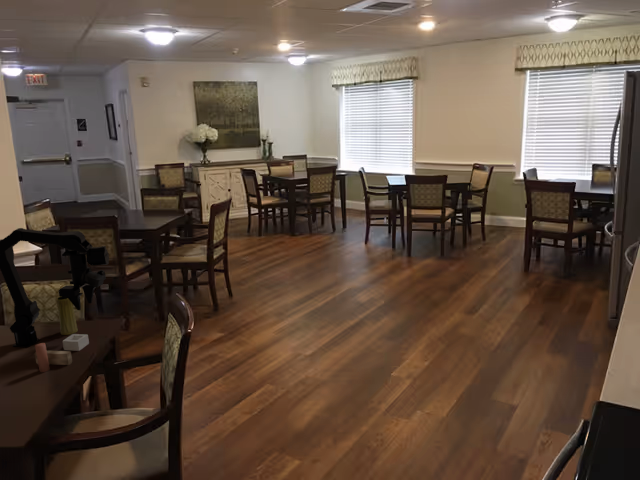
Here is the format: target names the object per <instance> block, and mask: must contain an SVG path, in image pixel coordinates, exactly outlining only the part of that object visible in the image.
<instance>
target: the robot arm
mask: <svg viewBox="0 0 640 480" xmlns="http://www.w3.org/2000/svg"><path fill="white" fill-rule="evenodd" d="M20 242H26V243H28V242H29V243H37V244H38V243H39V244H48V245H55V246H58V247H60V248H62V249H65V251H64V252H63V253H62V254H61V257H68V261H69V262H68V263H69V268H70V269H68V271H67V272H68V273H67V274H70V275H71V276H70V277H71V280H70V281H69V284H70V285H67V284H66V285H65V286H62V287H61V288H59V289H58V297H60V296H62V297H67V298H68V299H69V300H70V301H71V302H72V304H73V307H74V309H76V310H77V311H81V308H82V305H81V304H82V303H81V296H82V295H83V294H84V296H85V299H86V301H87V303H88V304H92V303H93V297H94V293H95V290H96V288H99V287H100V286H102V285H104V280H106V279H107V277H106V271H105V270H103V269H100V270H98V271H95V272H93V271H92V268H91V267H89V265H90V266H107V265H109V264H110V254H109V251H108V249H107V247H106V245H103V246H94V247H93V245H92V243H90V242H89V240H88V239H86V237H85V234H84V233H83V232H82V231H79V230H75V231H72V230H71V231H64V232H54V231H45V230H37V229H27V228H23V227H20V228H16V229H14V230H13V231H12V232H11V233H9V234H8V235H7V236H6V237H4V238H1V239H0V272H1V275H2V277H3V279H4V282H5V284H6V287H7V290H8V293H9V294H10V296H11V299H12V302H13V304H14V307H13V308H14V309H13V314H14V319H15V321H14V322H13V323H12V324H11V326H10V327H9V330H10V332H11V333H12V334H13V336H14V337H13V338H14V341H15V343H13V344H12V347H15V348H29V347H31V346H33V345H34V344H35V343H37V342H39V341H40V338H38V337H37V336H38V335H37V331H36V329H35V326H33V324H35V322H36V320H37V319H38V318H39V316H40V310H41V309H40V308H39V306H38V303H37V300H33V301H32V300H31V299H30V298H29V297H28V295H27V292H26V290H25V288H24V285H23V282H22V281H21V277H20V275H19V271H18V269H17V268H16V264H15V263H14V262H15V251H14V246H16V245H17V244H18V243H20ZM81 289H82V290H83V292H81Z"/></svg>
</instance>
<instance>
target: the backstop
mask: <svg viewBox="0 0 640 480" xmlns="http://www.w3.org/2000/svg"><path fill="white" fill-rule="evenodd" d="M47 356H48V362H49V365H58V366H70V365H72V363H73V357H72V350H47ZM34 357H35V363H36V364H37V365H38V360H37V354H36V351H35V352H34Z"/></svg>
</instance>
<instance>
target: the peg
mask: <svg viewBox="0 0 640 480" xmlns="http://www.w3.org/2000/svg"><path fill="white" fill-rule="evenodd" d="M34 349H35V352H36V354H37V360H38V364H37V366H38V371H39V373H46V372H49V371H50V369H51V368H50V364H49V362H48V356H47V351H48V350H47V346H46V343H45V342H41V343H36V344H35V345H34Z"/></svg>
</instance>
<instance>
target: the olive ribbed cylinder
mask: <svg viewBox="0 0 640 480" xmlns="http://www.w3.org/2000/svg"><path fill="white" fill-rule="evenodd" d="M55 300H56V304H57V311H58V312H57V313H58V318H59V328H60V334H61V336H71V335H72V334H77V332H78V331H79V330H78V325H77V321H76V315H75V310H74V309H75V308H74V305H73V304H72V302H71V301H70V300H69V299H68V298H67V297H62V296H58V297H56V299H55Z"/></svg>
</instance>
